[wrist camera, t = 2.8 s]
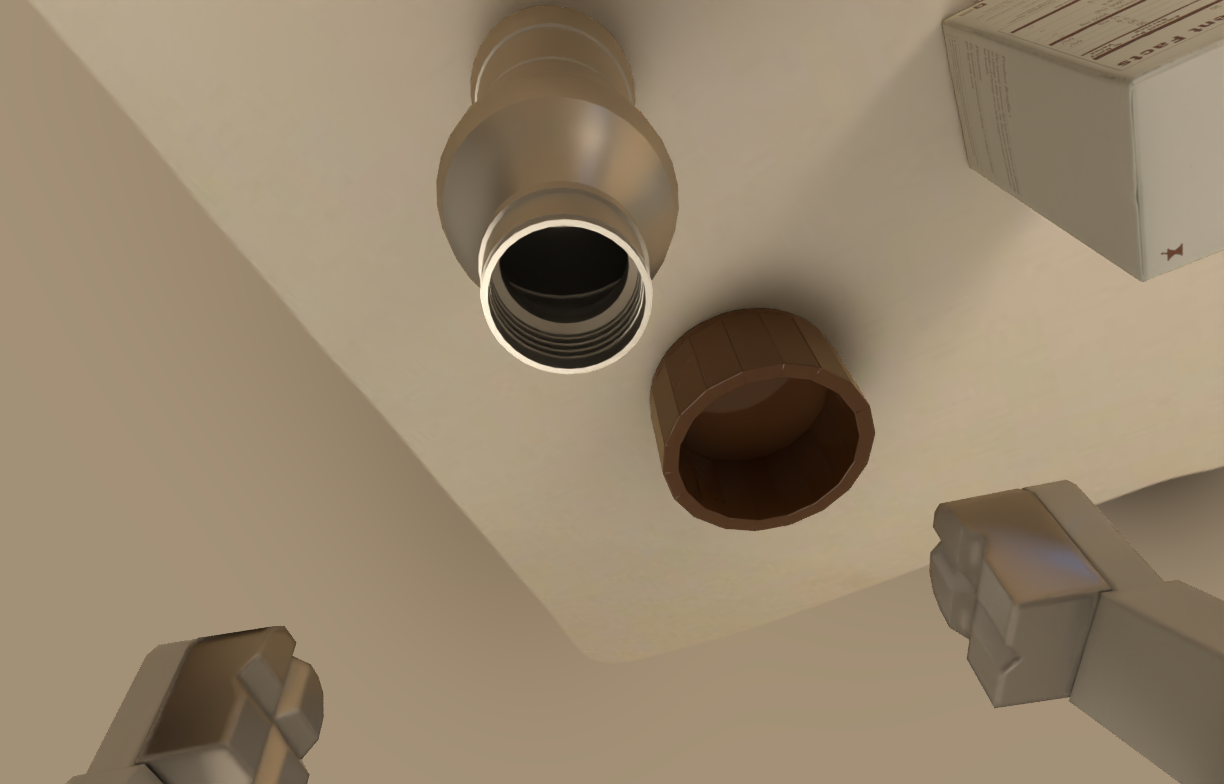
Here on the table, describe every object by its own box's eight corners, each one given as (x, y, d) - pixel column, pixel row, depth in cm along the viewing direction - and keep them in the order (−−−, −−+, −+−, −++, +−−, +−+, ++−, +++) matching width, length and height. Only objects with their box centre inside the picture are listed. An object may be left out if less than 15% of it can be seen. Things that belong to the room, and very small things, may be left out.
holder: (635, 329, 39) (647, 388, 35) (839, 290, 39) (879, 344, 35) (661, 479, 45) (675, 546, 41) (838, 446, 45) (872, 510, 41)
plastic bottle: (536, 188, 35) (536, 472, 18) (441, 55, 31) (334, 259, 15) (657, 108, 33) (775, 340, 17) (570, -42, 30) (613, 67, 13)
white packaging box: (1124, 99, 35) (1375, 197, 24) (964, 170, 36) (1138, 292, 26) (1116, -72, 31) (1412, -43, 20) (936, 14, 32) (1128, 84, 22)
